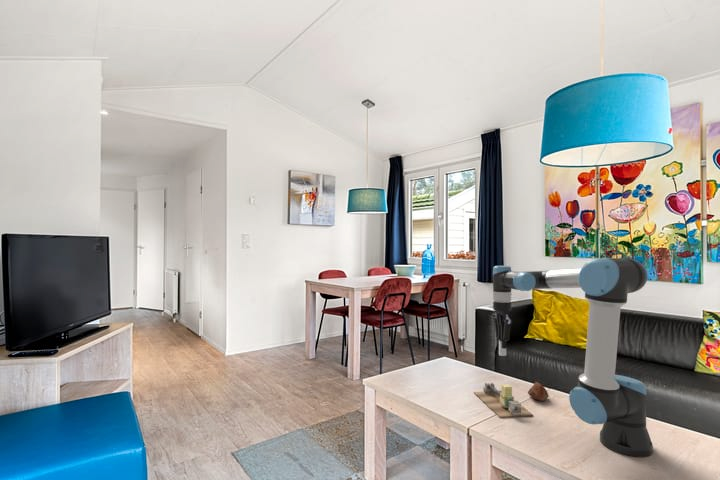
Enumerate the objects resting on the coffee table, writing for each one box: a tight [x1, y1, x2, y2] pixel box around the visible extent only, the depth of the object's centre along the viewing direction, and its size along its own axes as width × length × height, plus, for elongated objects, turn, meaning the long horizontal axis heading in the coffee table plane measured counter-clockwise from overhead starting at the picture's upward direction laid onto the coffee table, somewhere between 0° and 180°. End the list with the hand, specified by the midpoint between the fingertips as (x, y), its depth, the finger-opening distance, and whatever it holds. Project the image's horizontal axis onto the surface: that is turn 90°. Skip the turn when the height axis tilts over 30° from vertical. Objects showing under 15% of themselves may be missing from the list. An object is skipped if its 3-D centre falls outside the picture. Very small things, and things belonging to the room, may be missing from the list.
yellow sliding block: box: [500, 383, 515, 408], centre depth 166 cm, size 4×4×8 cm
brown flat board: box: [473, 382, 534, 419], centre depth 170 cm, size 26×14×5 cm, turn 6°
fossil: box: [527, 381, 550, 402], centre depth 177 cm, size 13×8×10 cm
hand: (502, 355), depth 172 cm, fingers closed
